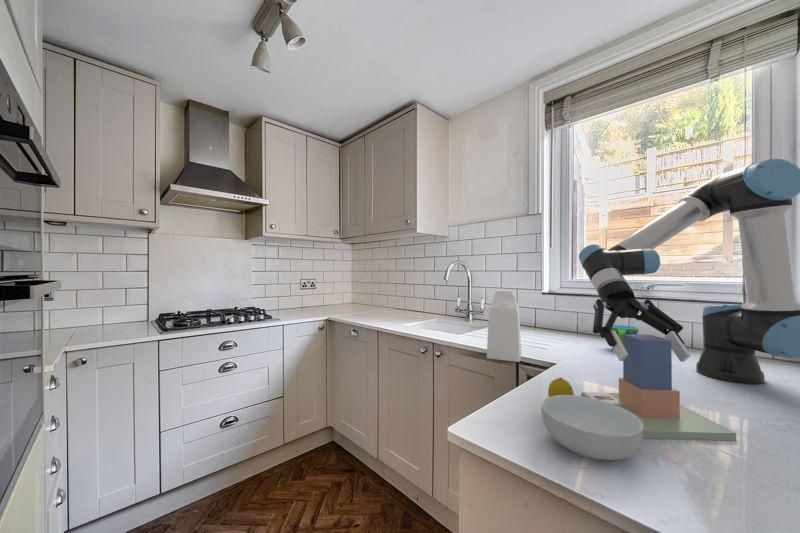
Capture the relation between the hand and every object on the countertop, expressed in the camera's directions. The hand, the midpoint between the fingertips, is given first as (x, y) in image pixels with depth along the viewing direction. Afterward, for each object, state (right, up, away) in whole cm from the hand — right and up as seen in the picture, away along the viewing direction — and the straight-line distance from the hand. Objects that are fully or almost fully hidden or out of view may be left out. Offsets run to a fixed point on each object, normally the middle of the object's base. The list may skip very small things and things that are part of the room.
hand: (654, 358), depth 71 cm
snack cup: (+37, -15, +61) cm, 73 cm away
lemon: (-19, -14, +5) cm, 24 cm away
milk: (-16, -15, +53) cm, 58 cm away
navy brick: (0, -7, +2) cm, 7 cm away
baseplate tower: (0, -14, +2) cm, 14 cm away
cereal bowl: (-21, -14, -11) cm, 28 cm away
